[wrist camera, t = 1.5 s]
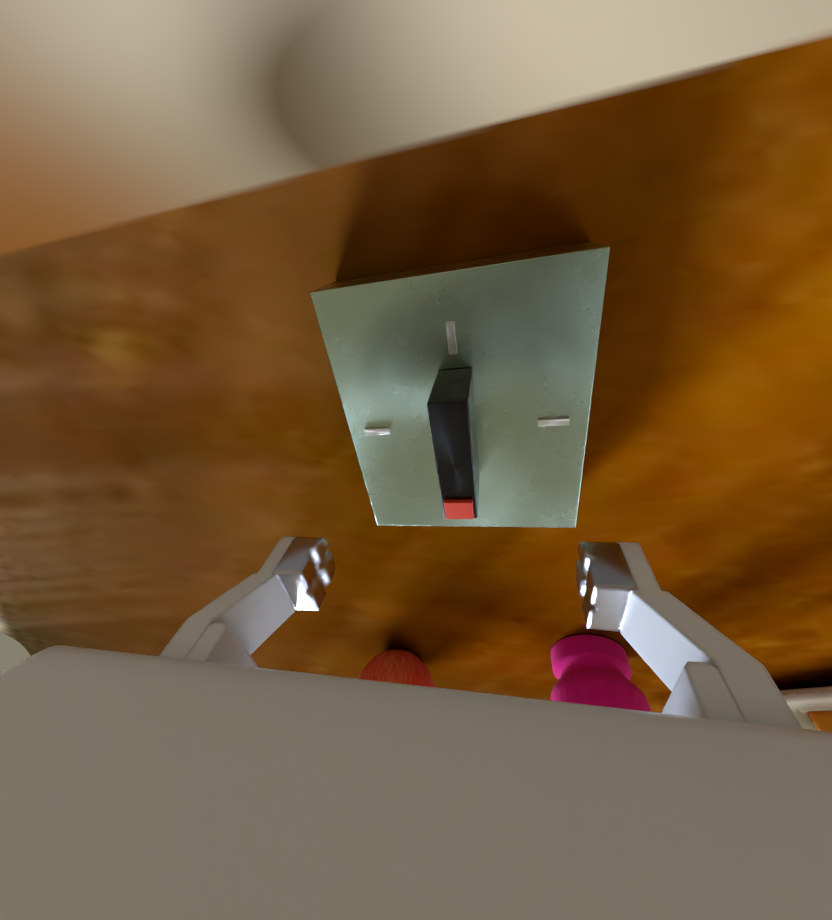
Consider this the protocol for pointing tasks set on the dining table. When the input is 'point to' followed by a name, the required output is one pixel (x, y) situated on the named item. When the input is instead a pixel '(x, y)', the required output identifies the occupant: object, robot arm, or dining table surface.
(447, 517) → the black switch lever
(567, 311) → the panel
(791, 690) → the puzzle board
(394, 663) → the apple
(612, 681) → the pepper mill
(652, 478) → the dining table surface
